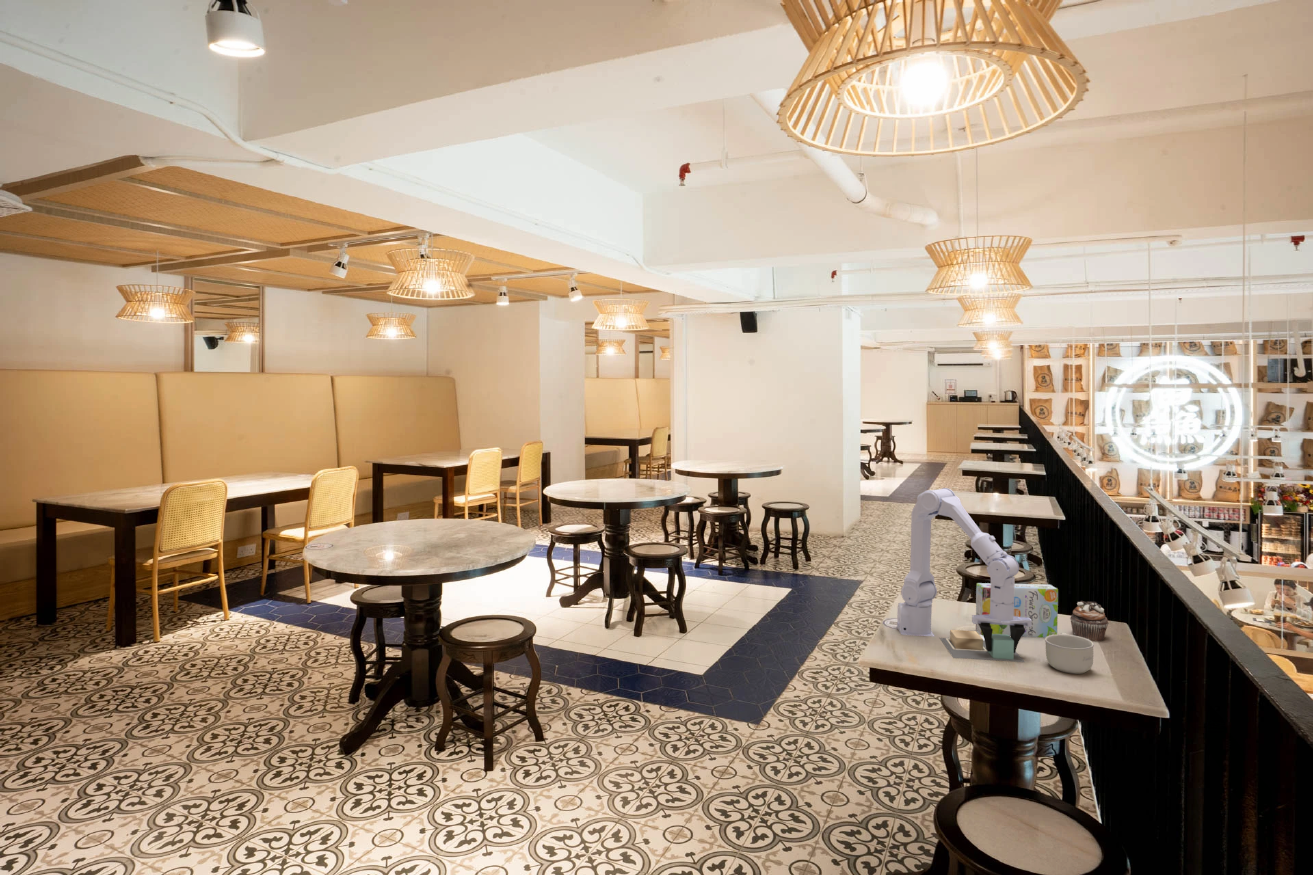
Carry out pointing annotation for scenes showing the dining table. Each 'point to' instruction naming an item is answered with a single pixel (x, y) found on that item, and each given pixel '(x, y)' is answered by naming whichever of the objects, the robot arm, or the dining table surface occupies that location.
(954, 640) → the maple base
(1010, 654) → the teal block
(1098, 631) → the cupcake
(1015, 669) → the dining table surface
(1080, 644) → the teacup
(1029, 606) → the snack box
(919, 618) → the robot arm
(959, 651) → the grey flat slab
